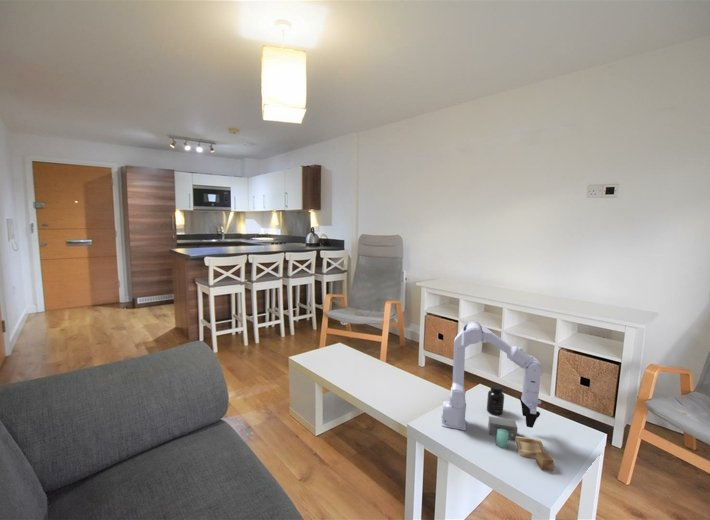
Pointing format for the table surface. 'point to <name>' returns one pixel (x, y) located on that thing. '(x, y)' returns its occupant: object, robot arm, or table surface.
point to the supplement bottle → (495, 400)
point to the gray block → (502, 426)
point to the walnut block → (544, 461)
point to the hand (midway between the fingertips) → (527, 421)
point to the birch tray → (528, 446)
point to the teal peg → (502, 438)
